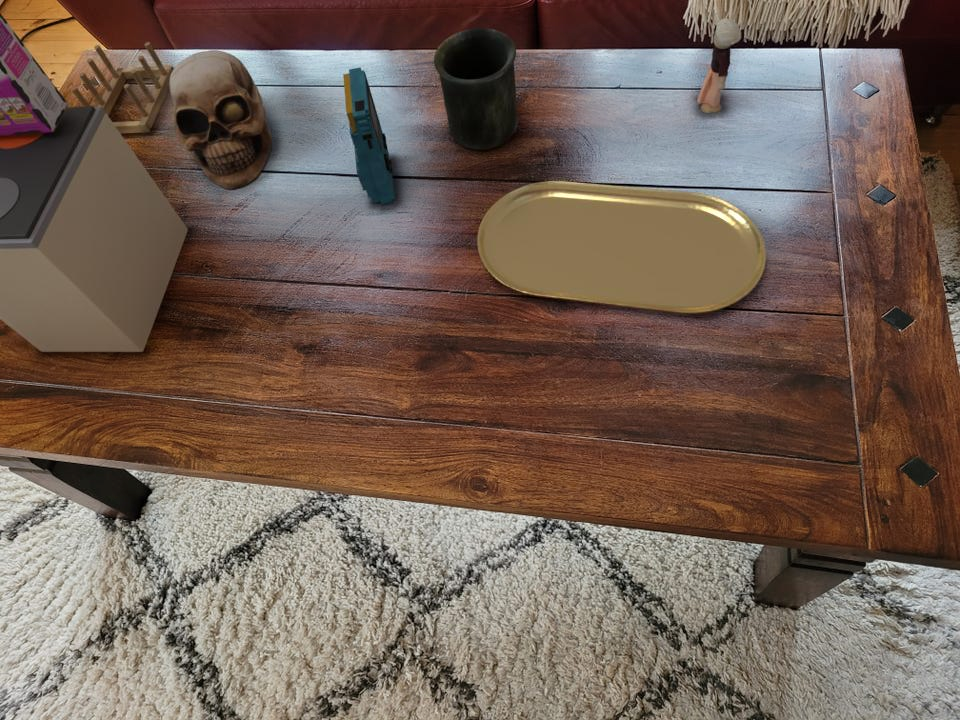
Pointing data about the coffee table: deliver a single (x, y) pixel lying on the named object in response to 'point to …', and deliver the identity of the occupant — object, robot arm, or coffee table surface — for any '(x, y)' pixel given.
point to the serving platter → (622, 246)
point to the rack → (130, 89)
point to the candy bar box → (25, 90)
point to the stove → (82, 238)
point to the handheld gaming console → (368, 139)
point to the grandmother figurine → (718, 65)
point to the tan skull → (220, 117)
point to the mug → (479, 87)
